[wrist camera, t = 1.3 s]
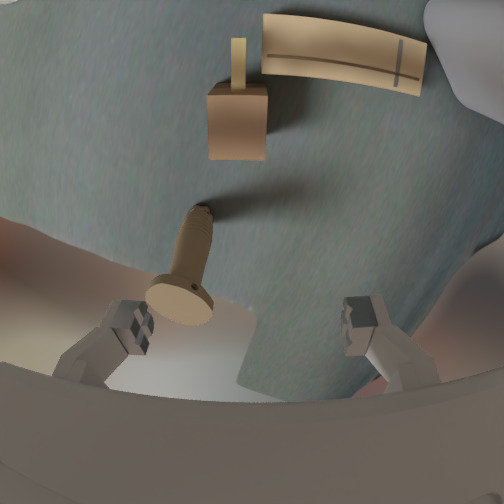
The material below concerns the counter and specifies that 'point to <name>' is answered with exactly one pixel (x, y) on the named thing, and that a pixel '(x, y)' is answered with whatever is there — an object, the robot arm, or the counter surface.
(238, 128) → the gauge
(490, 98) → the plastic bottle
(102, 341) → the robot arm
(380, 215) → the counter surface
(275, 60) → the board
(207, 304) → the handle
